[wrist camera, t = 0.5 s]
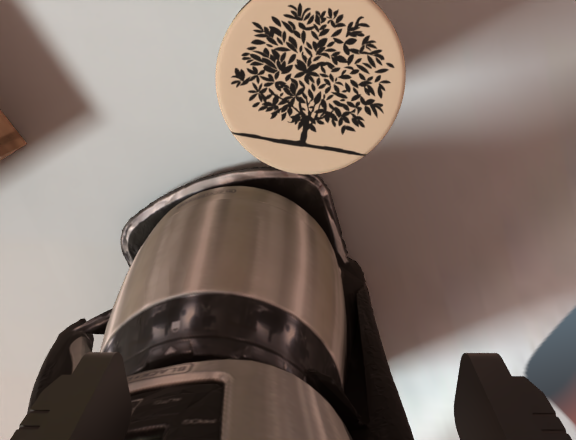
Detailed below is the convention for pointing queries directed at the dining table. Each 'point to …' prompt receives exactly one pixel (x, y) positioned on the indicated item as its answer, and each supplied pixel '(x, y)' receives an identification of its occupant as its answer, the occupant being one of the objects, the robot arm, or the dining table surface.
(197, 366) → the coffee maker
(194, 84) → the dining table surface
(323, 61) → the travel mug
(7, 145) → the lane
